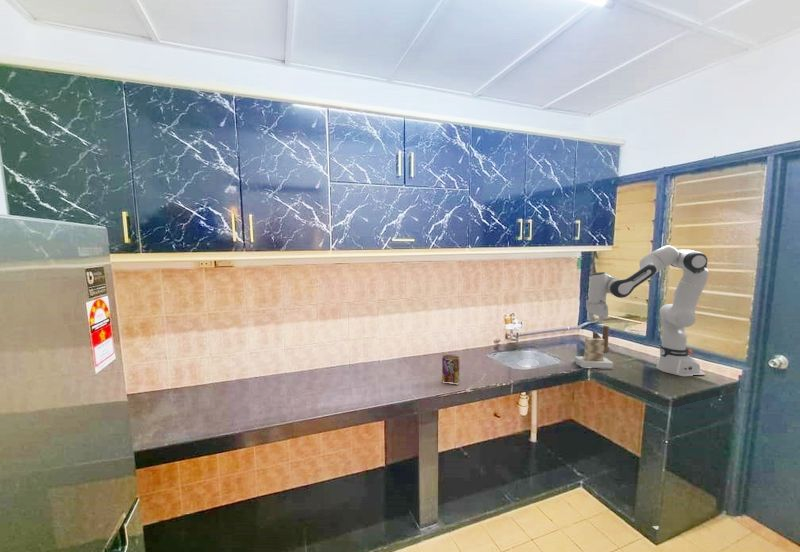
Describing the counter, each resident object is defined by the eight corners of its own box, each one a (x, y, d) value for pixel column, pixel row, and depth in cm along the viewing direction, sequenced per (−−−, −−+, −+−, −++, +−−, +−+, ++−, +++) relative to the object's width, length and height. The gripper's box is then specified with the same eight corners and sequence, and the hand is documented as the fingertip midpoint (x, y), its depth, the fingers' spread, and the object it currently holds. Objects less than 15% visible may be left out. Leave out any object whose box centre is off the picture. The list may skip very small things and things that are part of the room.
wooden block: (591, 351, 231) (593, 326, 229) (604, 350, 234) (606, 325, 232) (595, 353, 228) (597, 327, 226) (608, 352, 230) (610, 326, 228)
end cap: (604, 363, 210) (604, 357, 209) (612, 369, 200) (613, 363, 199) (574, 362, 211) (574, 356, 211) (581, 368, 202) (581, 362, 201)
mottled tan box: (600, 363, 207) (602, 338, 205) (602, 365, 204) (604, 340, 202) (583, 363, 207) (585, 338, 206) (585, 364, 204) (587, 339, 203)
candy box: (459, 382, 182) (459, 355, 180) (458, 385, 178) (458, 358, 176) (443, 380, 185) (443, 353, 183) (441, 383, 181) (442, 356, 179)
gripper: (612, 302, 190) (610, 326, 192) (594, 296, 211) (593, 317, 212) (600, 302, 191) (599, 325, 192) (584, 296, 211) (583, 317, 213)
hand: (596, 321), depth 202 cm, fingers open, 8 cm apart
